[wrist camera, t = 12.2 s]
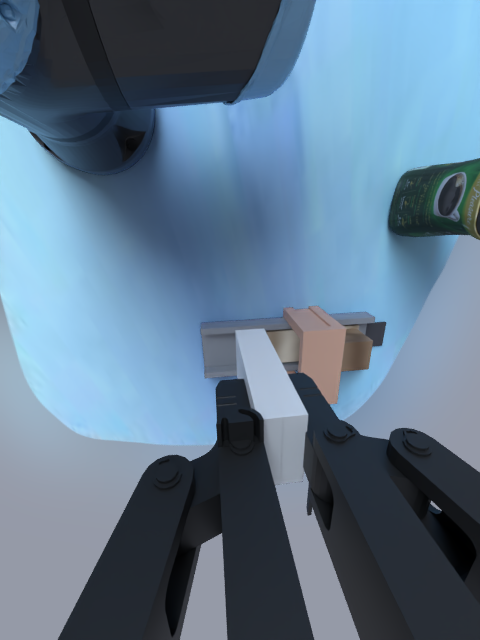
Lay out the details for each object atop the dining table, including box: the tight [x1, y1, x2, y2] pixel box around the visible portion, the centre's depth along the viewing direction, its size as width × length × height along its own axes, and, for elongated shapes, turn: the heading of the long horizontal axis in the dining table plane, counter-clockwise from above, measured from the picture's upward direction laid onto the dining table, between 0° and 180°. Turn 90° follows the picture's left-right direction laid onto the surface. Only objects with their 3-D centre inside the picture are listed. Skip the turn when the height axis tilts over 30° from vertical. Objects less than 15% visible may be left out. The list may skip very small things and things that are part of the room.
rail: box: [201, 312, 375, 378], centre depth 46 cm, size 29×9×3 cm, turn 92°
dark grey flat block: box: [365, 322, 386, 346], centre depth 49 cm, size 4×5×1 cm
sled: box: [266, 324, 373, 371], centre depth 44 cm, size 19×6×6 cm, turn 92°
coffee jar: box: [389, 158, 480, 240], centre depth 33 cm, size 10×8×19 cm
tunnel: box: [283, 306, 346, 404], centre depth 43 cm, size 6×12×10 cm, turn 2°
